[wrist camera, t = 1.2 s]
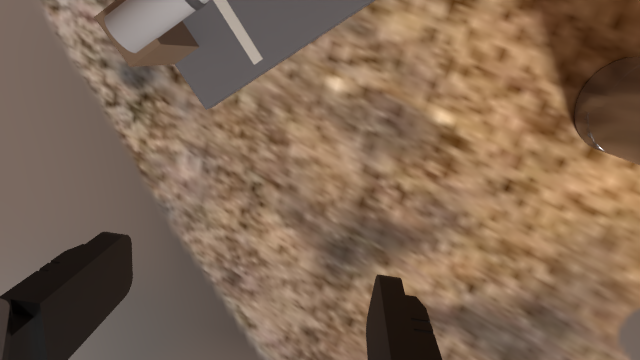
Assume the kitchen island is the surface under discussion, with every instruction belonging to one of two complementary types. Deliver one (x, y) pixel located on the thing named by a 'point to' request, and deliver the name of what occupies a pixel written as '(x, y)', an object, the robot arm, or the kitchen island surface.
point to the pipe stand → (219, 36)
